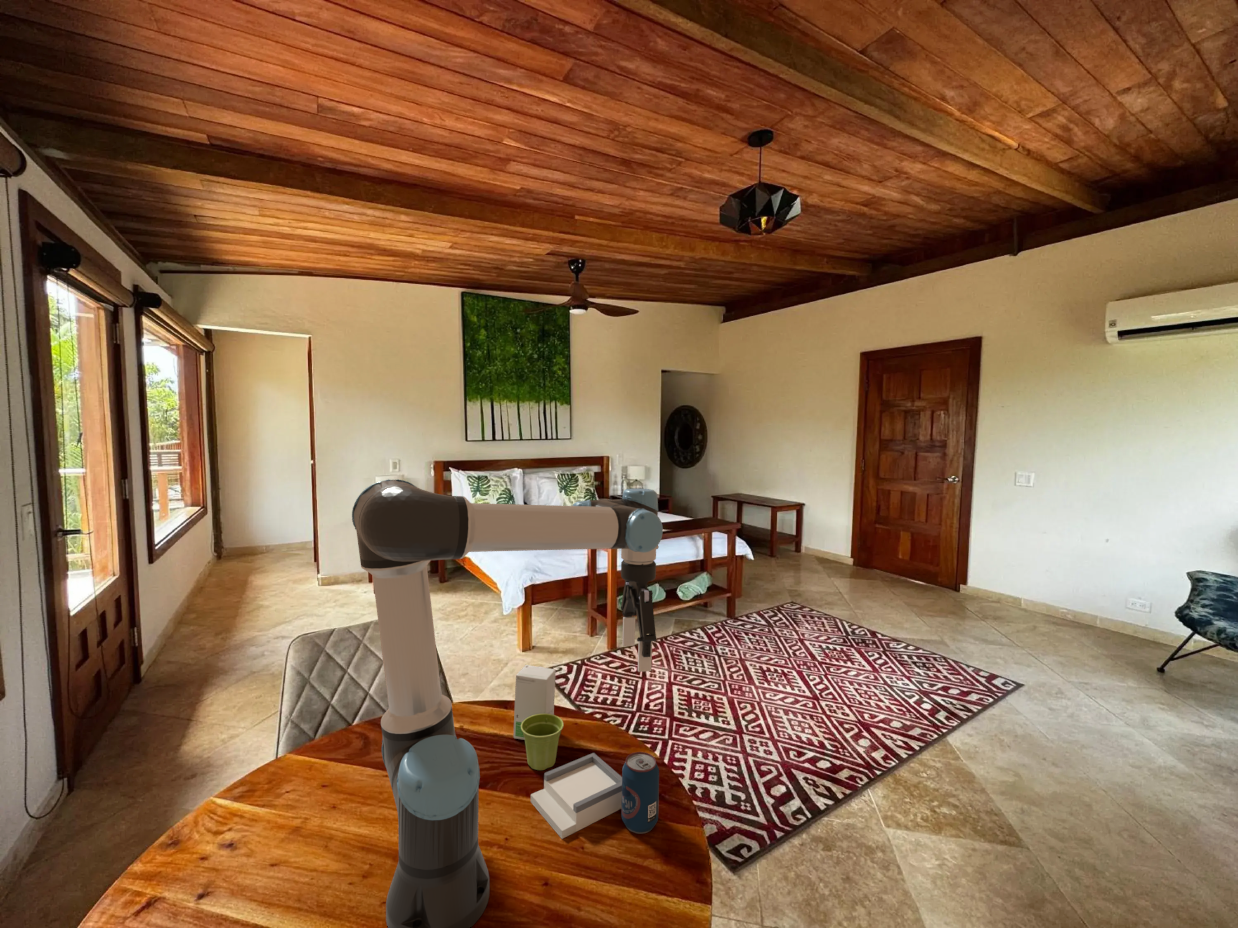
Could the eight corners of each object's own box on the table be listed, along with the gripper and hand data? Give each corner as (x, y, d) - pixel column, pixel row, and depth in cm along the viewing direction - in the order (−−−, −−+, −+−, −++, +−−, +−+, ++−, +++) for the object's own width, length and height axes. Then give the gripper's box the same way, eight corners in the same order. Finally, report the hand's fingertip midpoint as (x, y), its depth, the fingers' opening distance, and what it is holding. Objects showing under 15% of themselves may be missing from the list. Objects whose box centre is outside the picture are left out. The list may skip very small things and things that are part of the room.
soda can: (613, 819, 100) (614, 758, 100) (641, 804, 105) (642, 745, 104) (637, 842, 95) (638, 777, 94) (665, 824, 99) (667, 762, 99)
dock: (561, 838, 95) (562, 813, 95) (530, 801, 105) (530, 778, 105) (627, 805, 104) (628, 782, 104) (593, 773, 114) (593, 752, 114)
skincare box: (512, 738, 127) (513, 675, 126) (523, 724, 133) (524, 663, 132) (545, 743, 125) (546, 679, 124) (555, 728, 131) (556, 667, 130)
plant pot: (566, 751, 122) (567, 714, 121) (558, 777, 113) (558, 737, 112) (527, 748, 123) (527, 711, 122) (515, 773, 113) (515, 734, 113)
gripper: (674, 574, 103) (670, 681, 104) (640, 548, 127) (637, 635, 128) (636, 575, 101) (633, 684, 102) (609, 548, 125) (607, 637, 126)
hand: (636, 657), depth 115 cm, fingers open, 13 cm apart
